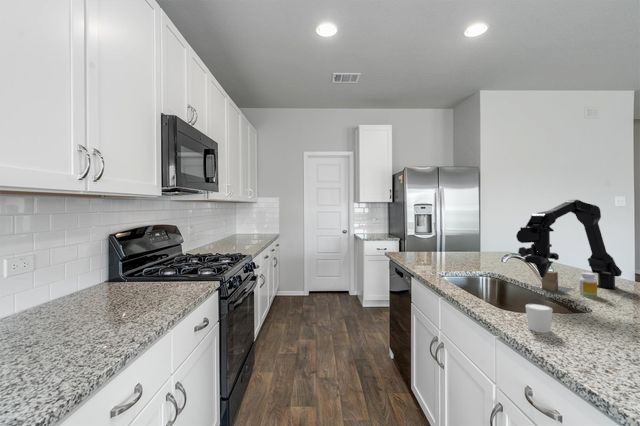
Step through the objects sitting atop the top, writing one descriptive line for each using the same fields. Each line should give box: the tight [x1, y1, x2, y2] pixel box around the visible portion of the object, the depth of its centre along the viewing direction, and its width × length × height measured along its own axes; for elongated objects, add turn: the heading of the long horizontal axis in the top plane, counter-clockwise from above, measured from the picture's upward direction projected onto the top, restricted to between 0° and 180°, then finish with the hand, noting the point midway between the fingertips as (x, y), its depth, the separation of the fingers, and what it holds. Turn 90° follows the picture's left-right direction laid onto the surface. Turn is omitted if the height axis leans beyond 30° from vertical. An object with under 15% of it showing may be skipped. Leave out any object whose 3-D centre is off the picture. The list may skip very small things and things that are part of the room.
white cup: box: [525, 303, 553, 334], centre depth 92 cm, size 7×7×7 cm
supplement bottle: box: [579, 272, 598, 298], centre depth 124 cm, size 5×5×10 cm
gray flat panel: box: [532, 285, 575, 295], centre depth 136 cm, size 14×12×1 cm
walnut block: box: [541, 270, 559, 292], centre depth 134 cm, size 4×4×8 cm
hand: (542, 277), depth 130 cm, fingers closed
